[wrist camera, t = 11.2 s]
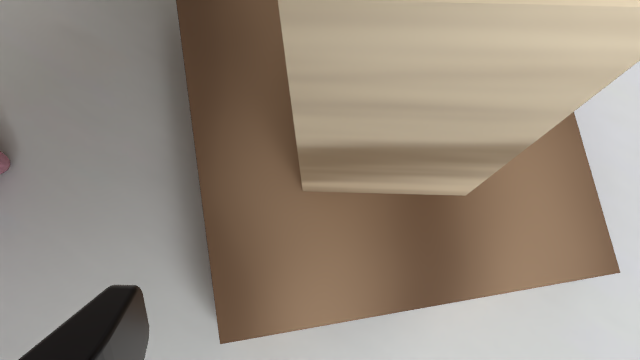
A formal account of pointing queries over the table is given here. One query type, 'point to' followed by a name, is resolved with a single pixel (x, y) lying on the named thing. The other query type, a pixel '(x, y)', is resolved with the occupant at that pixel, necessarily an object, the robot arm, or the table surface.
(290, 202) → the walnut base block
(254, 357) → the table surface
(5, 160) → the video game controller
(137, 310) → the robot arm
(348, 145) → the birch block
